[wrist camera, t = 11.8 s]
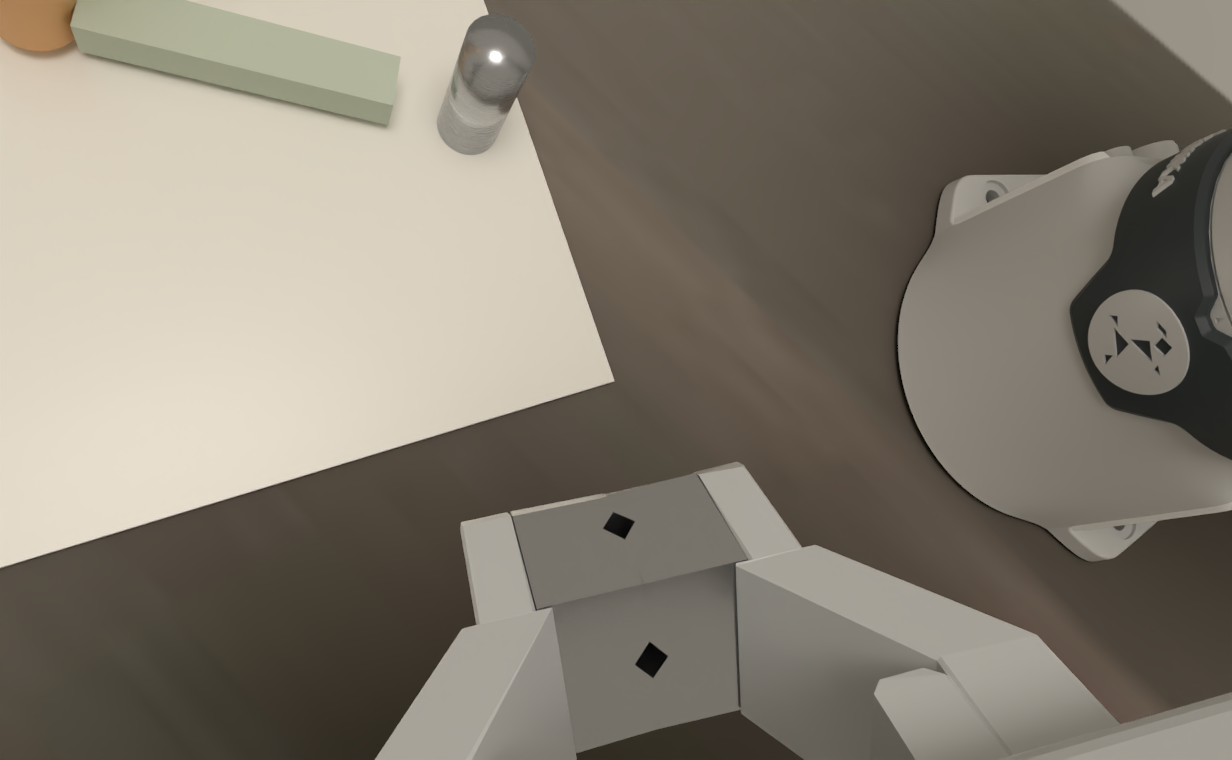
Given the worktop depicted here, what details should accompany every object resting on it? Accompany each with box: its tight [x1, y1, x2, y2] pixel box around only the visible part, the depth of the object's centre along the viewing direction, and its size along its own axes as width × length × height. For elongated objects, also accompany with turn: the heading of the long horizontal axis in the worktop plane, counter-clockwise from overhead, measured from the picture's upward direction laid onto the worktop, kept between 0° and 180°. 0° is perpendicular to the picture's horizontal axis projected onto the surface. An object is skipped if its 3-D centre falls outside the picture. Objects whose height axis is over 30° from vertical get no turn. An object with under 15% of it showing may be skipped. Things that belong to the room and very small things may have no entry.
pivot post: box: [437, 14, 535, 155], centre depth 35 cm, size 2×2×6 cm
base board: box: [0, 0, 614, 569], centre depth 34 cm, size 24×22×1 cm
